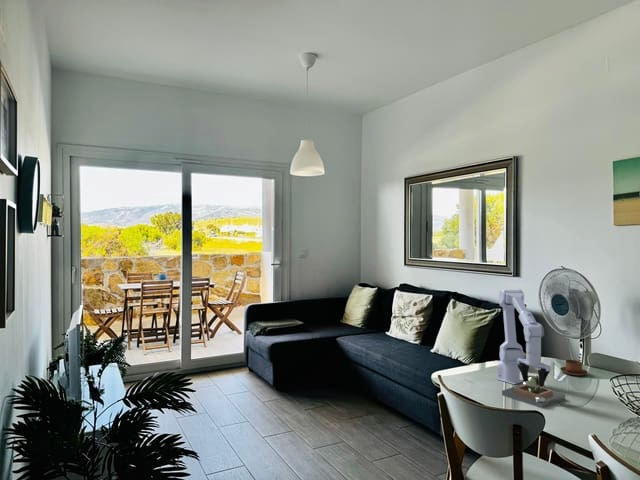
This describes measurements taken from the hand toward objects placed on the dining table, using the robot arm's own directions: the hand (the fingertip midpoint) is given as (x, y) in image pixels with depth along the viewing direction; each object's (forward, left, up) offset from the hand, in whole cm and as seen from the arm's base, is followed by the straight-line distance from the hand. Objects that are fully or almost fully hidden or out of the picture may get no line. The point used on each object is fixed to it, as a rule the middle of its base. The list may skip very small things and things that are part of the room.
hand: (533, 383), depth 190 cm
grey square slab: (0, 0, -6) cm, 6 cm away
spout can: (0, 0, -4) cm, 4 cm away
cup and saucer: (-8, +50, -6) cm, 51 cm away
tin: (-28, +37, -6) cm, 47 cm away
